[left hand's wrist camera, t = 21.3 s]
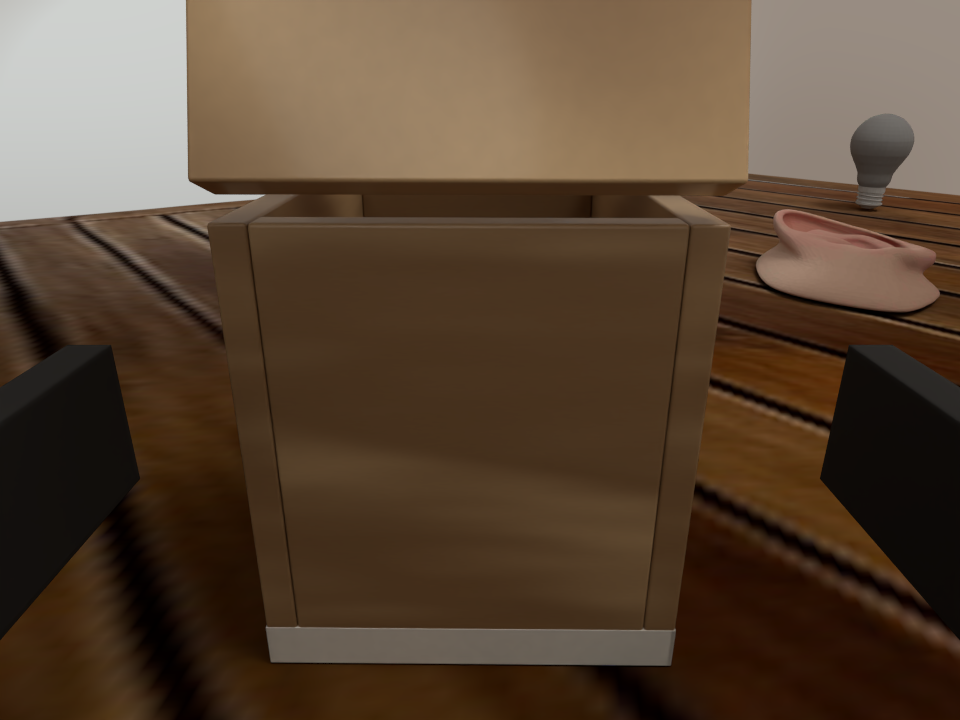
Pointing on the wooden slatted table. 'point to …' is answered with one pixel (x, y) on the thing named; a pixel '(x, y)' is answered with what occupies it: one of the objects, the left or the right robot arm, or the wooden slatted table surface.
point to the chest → (470, 419)
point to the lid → (468, 97)
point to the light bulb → (879, 155)
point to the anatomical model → (846, 265)
